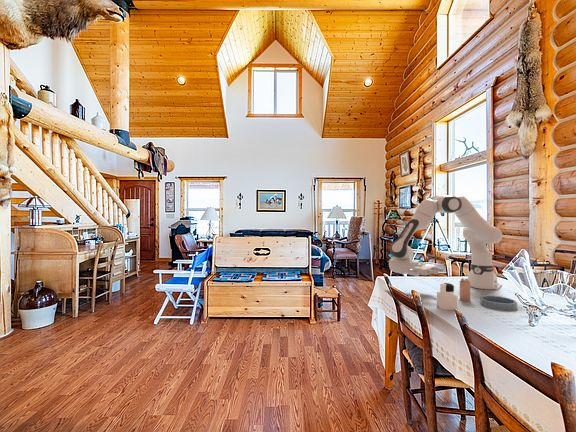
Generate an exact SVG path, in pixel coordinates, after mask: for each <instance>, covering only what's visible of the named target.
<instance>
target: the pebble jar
mask: <svg viewBox="0 0 576 432" xmlns="http://www.w3.org/2000/svg"><path fill="white" fill-rule="evenodd" d="M459 301H463V302H471V286H470V282H469V280H468V278H463V277H462V278H461V279H460V280H459Z"/></svg>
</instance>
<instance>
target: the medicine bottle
mask: <svg viewBox="0 0 576 432" xmlns="http://www.w3.org/2000/svg"><path fill="white" fill-rule="evenodd" d="M439 287H440V288H439V291H437V292H436V306H437V307H438V308H440V310H442V311H446V310H447V311H455V310H454V309H458V305H459V304H458V295H457V294H455V286H454V284H452V283H450V282H443V283H442V282H441V283H440V285H439Z"/></svg>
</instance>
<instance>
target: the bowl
mask: <svg viewBox="0 0 576 432" xmlns="http://www.w3.org/2000/svg"><path fill="white" fill-rule="evenodd" d="M479 301H480V302H479V303H480V305H481V306H484V307H485V308H488V309H493V310H498V311H499V310H500V311H515V310H517V309H518V302H517V301H516V300H515V299H512V298H508V297H503V296H499V295H498V296H497V295H482V296H480V297H479Z"/></svg>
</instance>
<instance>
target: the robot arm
mask: <svg viewBox="0 0 576 432" xmlns="http://www.w3.org/2000/svg"><path fill="white" fill-rule="evenodd" d="M437 213H442V214H446V213H447V214H452V213H454V214H455V216H456V218H457V219H458V220H459V221H460V223H461V224H462V226H464V227H465V228H464V229H463V231H462V236H463V238H464V239H465V240H466V242H467V243H468V246H469V248H470V254H471V263H470V270H469V271H468V274H467V279H468V280H469V282H470V288H475V289H481V290H500V289H501V288H502V286H503V285H502V283H499V282H498V276H497V275H496V273H495V272H494V268H495V265H494V264H493V254H492V253H493V252H492V251H491V250H489V248H488V247H487V245H493V244H499V243H500V242H501V241H502V239H503V231H502V230H501V229H500V228H498V227H496V226H494V225H492V224H491V223H489V222H488V221H487V220H486V219H485V218H483V217H482V215H481V214H480V213H479V212H478V210H477V209H476V208H475V207H474V205H473V204H472V202H471V201H470V200H469V199H468V198H467V197H465V196H464V195H461V194H459V195H448V194H445V195H444V194H443V195H435V196H433V197H431V198H426V199H423V200H422V201H421V202H420V204H419V205H418V206H417V208H416V210H415V212H414V214H413V215H412V217H411V218H410V220H409V221H408V222H407V223H406V225H405V226H404V228H403V229H402V231H401V232H400V234H399V235H398V237H397V238H396V239H395V240H394V241H393V242H392V243H391V244H390V246H389V253H390V255H392V257H391V258H390V259H389V260H388V267H389V270H390V271H392V272H393V273H396V274H401V275H405V274H407V275H408V276H414V277H416V276H417V277H419V276H427V275H431V274H432V275H438V274H439V272H440V273H443V272H444V269H443V268H440V267H438V266H437V265H436V264H432V263H427V262H426V263H425V262H424V261H419V260H413V259H414V256H415V255H414V254H415V253H414V250H413V248H412V247H411V246H409V242H410V240H411V238H412V237H413V235H414V234H415V233H416V232H417V231H422V230H426V229H427V228H428V227H429V226H430V225H431V223H432V222H433V219H434V217H435V215H436V214H437Z"/></svg>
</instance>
